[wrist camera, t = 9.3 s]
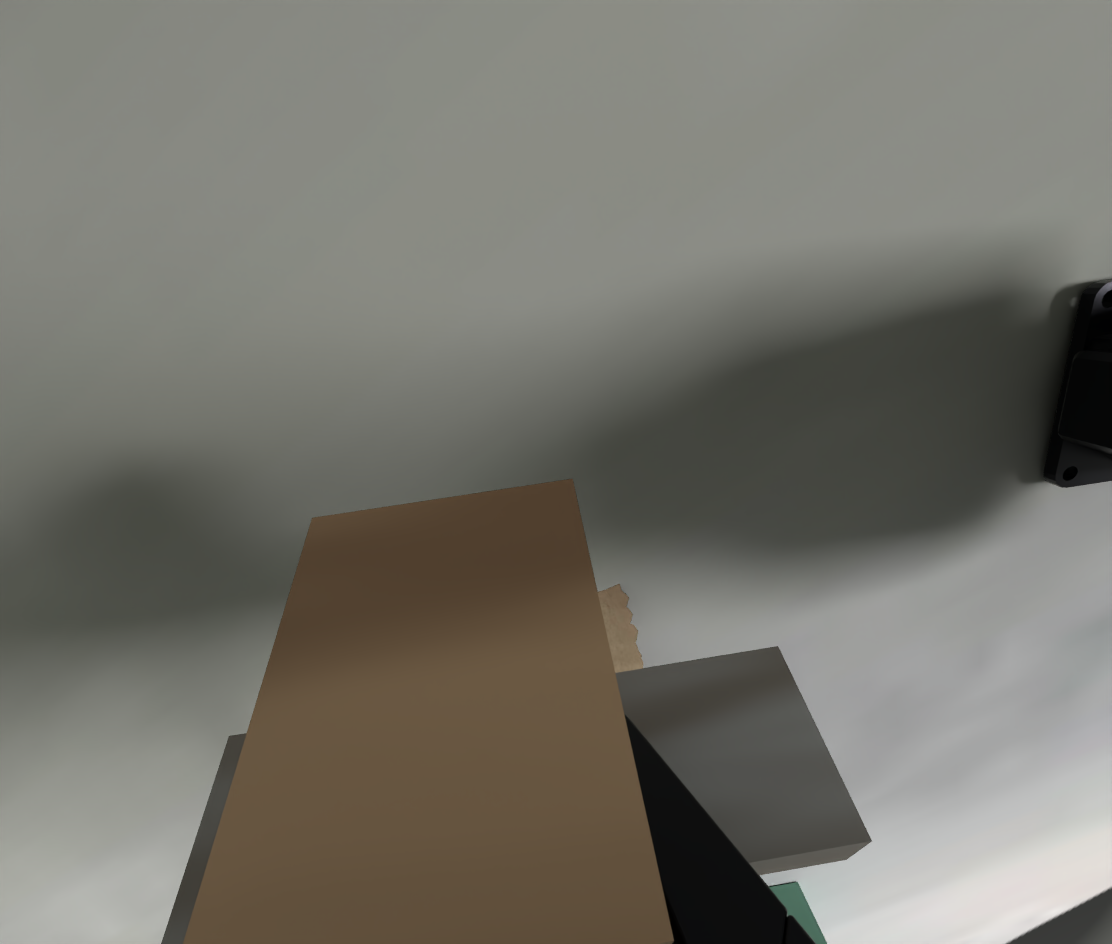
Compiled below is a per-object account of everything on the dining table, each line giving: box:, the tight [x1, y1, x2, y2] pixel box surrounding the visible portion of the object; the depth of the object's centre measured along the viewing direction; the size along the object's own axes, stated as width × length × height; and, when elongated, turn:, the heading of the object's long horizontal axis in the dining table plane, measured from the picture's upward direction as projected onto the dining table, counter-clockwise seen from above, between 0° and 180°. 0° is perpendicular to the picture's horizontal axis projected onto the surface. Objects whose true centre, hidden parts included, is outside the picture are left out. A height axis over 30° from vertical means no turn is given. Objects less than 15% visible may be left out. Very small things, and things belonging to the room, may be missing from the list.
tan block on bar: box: [161, 479, 872, 944], centre depth 7 cm, size 6×10×4 cm, turn 98°
